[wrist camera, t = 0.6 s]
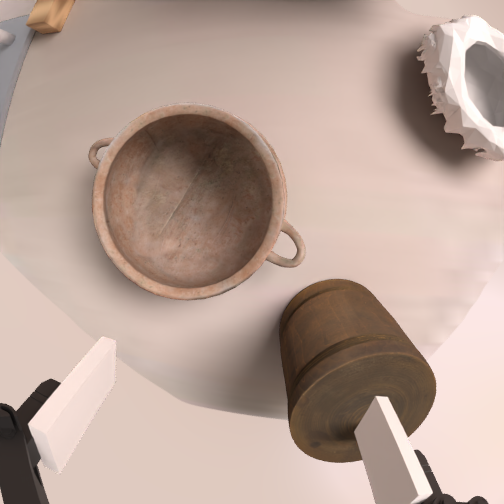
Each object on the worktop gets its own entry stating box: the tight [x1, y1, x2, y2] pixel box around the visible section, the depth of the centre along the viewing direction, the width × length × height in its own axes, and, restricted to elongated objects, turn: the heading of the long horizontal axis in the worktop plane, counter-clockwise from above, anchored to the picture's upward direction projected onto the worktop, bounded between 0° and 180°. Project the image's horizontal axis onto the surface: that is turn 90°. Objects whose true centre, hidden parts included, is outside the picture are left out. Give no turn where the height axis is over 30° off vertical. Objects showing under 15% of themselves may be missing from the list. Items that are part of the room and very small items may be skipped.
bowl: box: [417, 15, 504, 161], centre depth 28 cm, size 21×20×10 cm
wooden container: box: [279, 279, 436, 463], centre depth 31 cm, size 15×15×22 cm
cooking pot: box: [89, 103, 305, 300], centre depth 32 cm, size 25×19×12 cm
